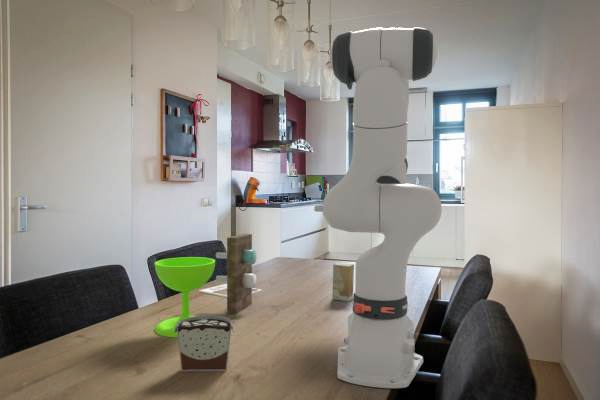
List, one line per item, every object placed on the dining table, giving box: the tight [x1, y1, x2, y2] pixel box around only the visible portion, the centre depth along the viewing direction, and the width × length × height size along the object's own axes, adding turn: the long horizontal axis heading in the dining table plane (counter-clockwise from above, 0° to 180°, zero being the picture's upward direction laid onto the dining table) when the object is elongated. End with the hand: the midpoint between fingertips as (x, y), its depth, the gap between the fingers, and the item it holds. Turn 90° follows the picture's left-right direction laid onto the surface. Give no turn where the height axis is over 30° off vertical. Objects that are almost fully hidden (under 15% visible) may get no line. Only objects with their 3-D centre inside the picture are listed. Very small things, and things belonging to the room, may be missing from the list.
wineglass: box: [153, 256, 216, 338], centre depth 119 cm, size 16×16×18 cm
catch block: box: [226, 233, 253, 315], centre depth 138 cm, size 3×12×23 cm, turn 163°
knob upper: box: [215, 249, 257, 265], centre depth 138 cm, size 13×4×4 cm, turn 73°
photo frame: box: [198, 283, 263, 298], centre depth 161 cm, size 15×1×18 cm
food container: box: [174, 314, 235, 372], centre depth 93 cm, size 12×6×10 cm, turn 92°
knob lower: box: [215, 273, 257, 288], centre depth 138 cm, size 13×4×4 cm, turn 73°
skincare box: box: [331, 262, 355, 303], centre depth 150 cm, size 6×4×12 cm
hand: (315, 208), depth 132 cm, fingers closed
